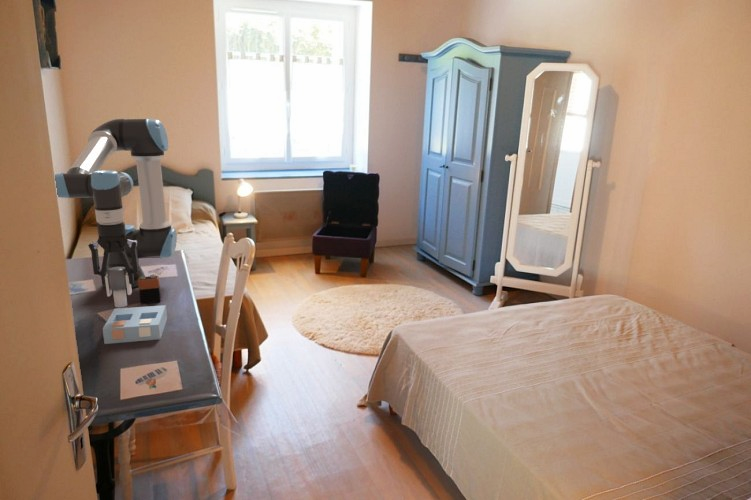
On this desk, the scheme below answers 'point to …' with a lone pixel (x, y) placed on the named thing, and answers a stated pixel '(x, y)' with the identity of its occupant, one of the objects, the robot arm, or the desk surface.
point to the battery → (149, 289)
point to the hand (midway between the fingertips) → (119, 294)
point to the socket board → (135, 324)
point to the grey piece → (118, 285)
